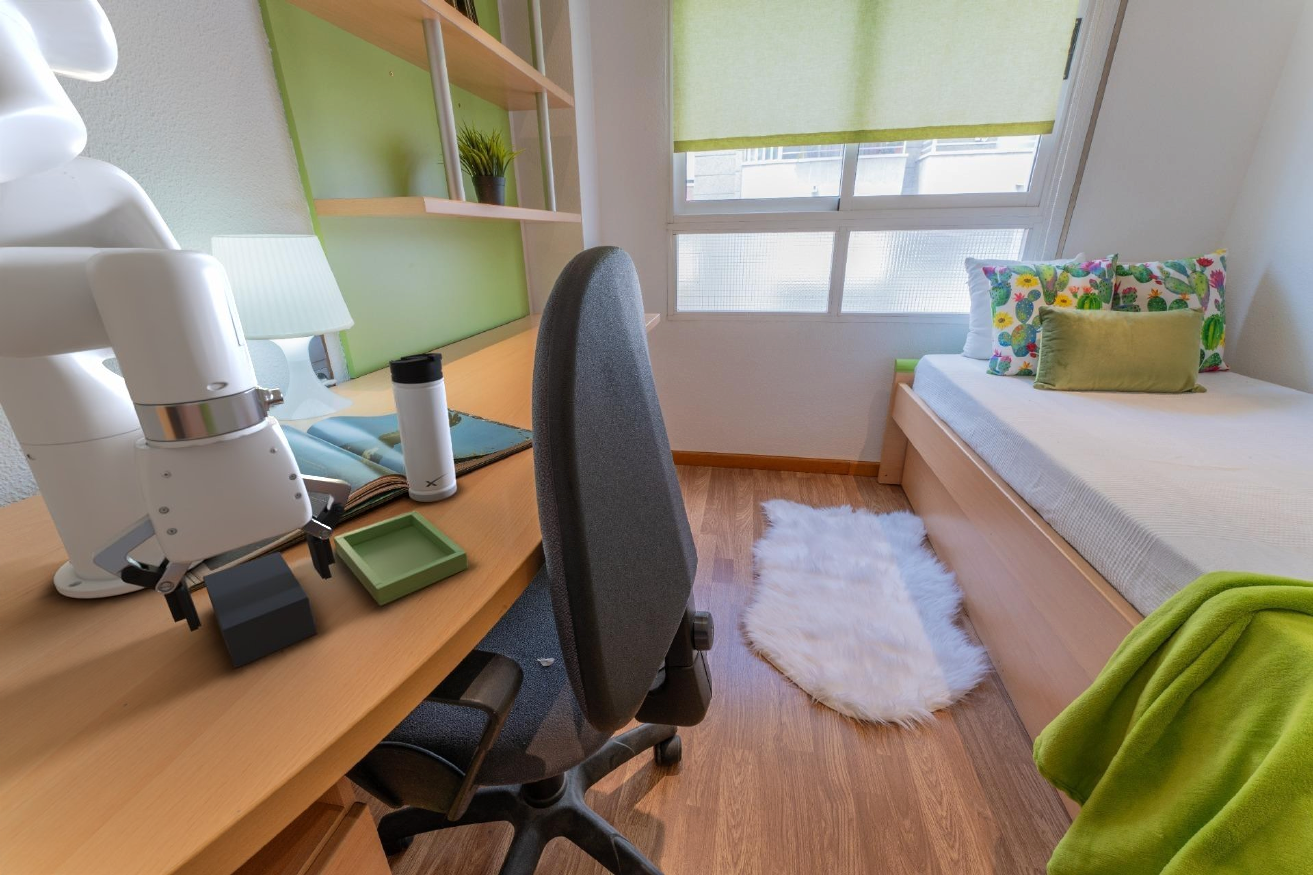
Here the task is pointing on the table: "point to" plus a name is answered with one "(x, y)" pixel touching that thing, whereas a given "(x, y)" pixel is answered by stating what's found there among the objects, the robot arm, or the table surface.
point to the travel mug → (424, 426)
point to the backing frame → (399, 556)
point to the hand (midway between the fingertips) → (263, 596)
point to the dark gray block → (259, 607)
